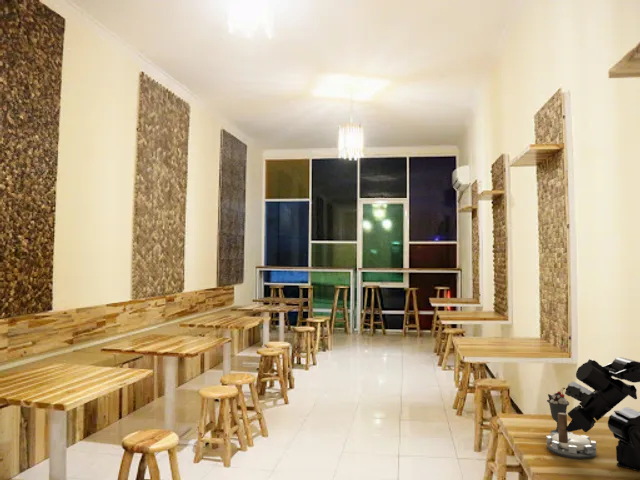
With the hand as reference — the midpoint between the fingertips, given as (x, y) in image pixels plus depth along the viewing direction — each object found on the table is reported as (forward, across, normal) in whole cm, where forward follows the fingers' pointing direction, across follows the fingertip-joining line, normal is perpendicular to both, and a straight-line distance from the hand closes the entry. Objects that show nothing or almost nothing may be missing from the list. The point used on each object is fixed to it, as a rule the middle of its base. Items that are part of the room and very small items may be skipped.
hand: (567, 430), depth 141 cm
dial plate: (+5, -4, +4) cm, 8 cm away
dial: (+4, -4, +3) cm, 6 cm away
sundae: (+10, -17, -1) cm, 20 cm away
